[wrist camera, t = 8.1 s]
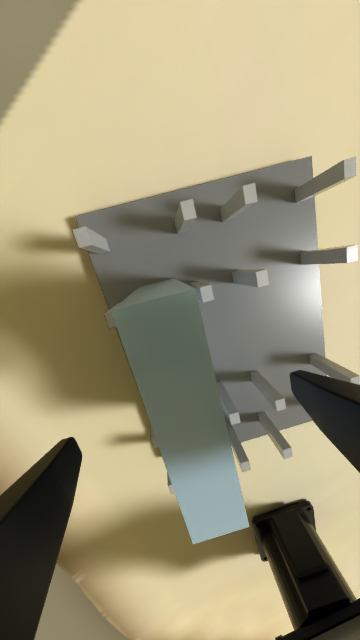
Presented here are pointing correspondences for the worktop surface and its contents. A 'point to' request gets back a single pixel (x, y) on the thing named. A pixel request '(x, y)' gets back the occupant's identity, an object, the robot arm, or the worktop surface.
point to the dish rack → (234, 282)
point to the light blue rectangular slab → (183, 404)
